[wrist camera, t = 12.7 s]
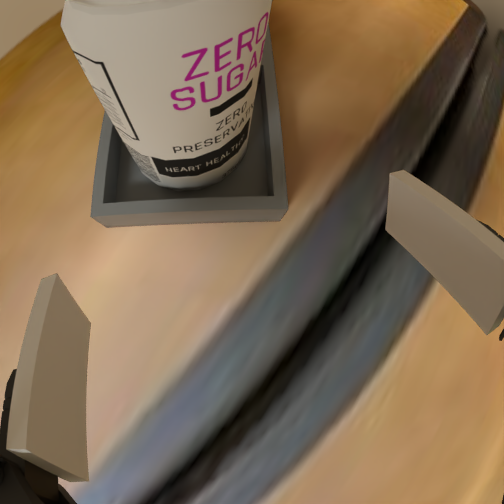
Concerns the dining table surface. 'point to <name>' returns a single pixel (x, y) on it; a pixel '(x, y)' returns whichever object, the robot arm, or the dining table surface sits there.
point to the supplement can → (174, 79)
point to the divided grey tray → (209, 198)
